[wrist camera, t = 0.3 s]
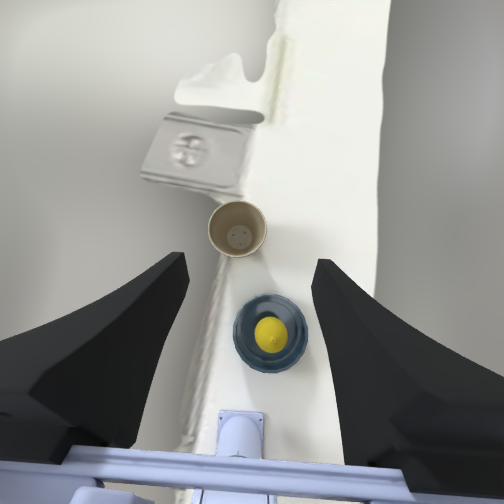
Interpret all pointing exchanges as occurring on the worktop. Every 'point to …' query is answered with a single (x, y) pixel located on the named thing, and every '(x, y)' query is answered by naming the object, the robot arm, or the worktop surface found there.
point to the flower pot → (237, 228)
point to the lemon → (271, 334)
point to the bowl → (246, 333)
